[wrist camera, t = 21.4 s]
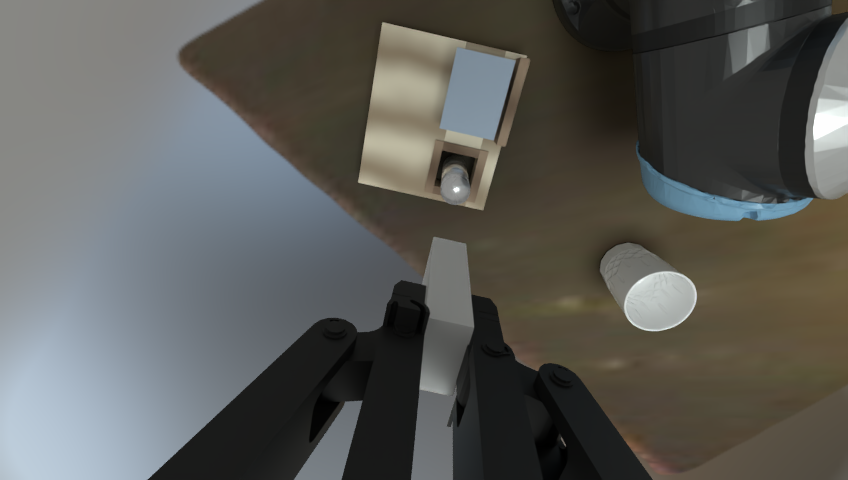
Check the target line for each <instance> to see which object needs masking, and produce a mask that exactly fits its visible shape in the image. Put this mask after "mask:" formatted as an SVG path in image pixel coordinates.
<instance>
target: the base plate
mask: <svg viewBox="0 0 848 480" xmlns="http://www.w3.org/2000/svg"><path fill="white" fill-rule="evenodd" d="M457 47H459V48H463V49H467V50H472V51H476V52H480V53H485V54H489V55H493V56H498V57H502V58H506V59H511V60H515V65H514V69H513V72H512V76H511V80H510V83H509V87H508V90H507V94H506V98H505V101H504V105H503V109H502V112H501V116H500V120H499V123H498V127H497V131H496V134H495V138H494V140H489V139H485V138H480V137H476V136H472V135H467V134H463V133H458V132H454V131H450V130H445V129H441V128H439V127H440V123H441V118H442V114H443V109H444V105H445V100H446V96H447V91H448V87H449V82H450V77H451V73H452V68H453V64H454V59H455V55H456V50H457ZM526 57H527V56H526V55H521V54H517V53H513V52H509V51H504V50H500V49H496V48H491V47H487V46H483V45H478V44H474V43H470V42H466V41H461V40H457V39H453V38H448V37H444V36H440V35H435V34H431V33H427V32H422V31H418V30H414V29H410V28H405V27H401V26H397V25H392V24H388V23H384V22H382V28H381V35H380V42H379V48H378V55H377V61H376V68H375V75H374V81H373V88H372V94H371V101H370V108H369V114H368V121H367V128H366V134H365V141H364V147H363V154H362V161H361V167H360V174H359V180H358V183H363V184H367V185H372V186H376V187H381V188H385V189H390V190H394V191H399V192H403V193H408V194H412V195H417V196H421V197H426V198H430V199H435V200H439V201H444V202H446V201H445V200H444V199H443V198H442V196H441V181H440V180H436V175H437V170H438V166H439V162H440V157H441V153H442V150H443V151H447V152H452V153H456V154H461V155H465V156H470V157H474V158H475V161H474V165H473V169H472V173H471V176H470V180H469V184H470V195H469V197H468V199H467V200H466V201H465V202H464V203H462V204H459V205H462V206H466V207H471V208H475V209H479V210H483V209H484V205H485V202H486V198H487V195H488V191H489V188H490V184H491V181H492V177H493V173H494V170H495V166H496V163H497V159H498V156H499V152H500V149H501V146H504V147H506V143H507V140H508V136H509V133H510V129H511V126H512V122H513V119H514V115H515V112H516V109H517V105H518V102H519V98H520V95H521V91H522V88H523V84H524V81H525V77H526V74H527V70H528V67H529V63H530V60H531V59H527V58H526Z"/></svg>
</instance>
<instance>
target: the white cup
mask: <svg viewBox="0 0 848 480" xmlns="http://www.w3.org/2000/svg"><path fill="white" fill-rule="evenodd" d="M600 273H601V275H602V277H603V280H604V281H605V283H606V285H607V287H608V289H609V290H610V292H611V293H612V295H613V297H614V299H615V300H616V302H617V303H618V305H619V306H620V308H621V309H622V311H623V312H624V314H625V315H626V317H627V318H628V320H629V321H630V322H631V323H632V324H633V325H634V326H636V327H638V328H640V329H643V330H647V331H661V330H666V329H669V328H672V327H674V326H676V325H678V324H679V323H681V322H682V321H684V320H685V319H686V318H687V317H688V316H689V315H690V313H691V312H692V310H693V309H694V306H695V304H696V299H697V293H696V289H695V286H694V284H693V283H692V281H691V280H690V279H689V278H687V277H686V276H685V275H683V274H682V273H680V272H679V271H678V270H676V269H675V268H674V267H672V266H671V265H669V264H668V263H667V262H665V261H664V260H662V259H661V258H660V257H658V256H656V255H655V254H654V253H651V252H649V251H648V250H646V249H645V248H643V247H642V246H641V245H639V244H634V243H624V244H620V245H616V246H615V247H613V248H612V249H610V250H609V251H607V252H606V254H605V255H604V257H603V258H602V260H601V264H600Z"/></svg>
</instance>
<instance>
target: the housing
mask: <svg viewBox="0 0 848 480" xmlns="http://www.w3.org/2000/svg"><path fill="white" fill-rule="evenodd" d="M514 65H515V60H511V59H506V58H502V57H498V56H493V55H489V54H485V53H480V52H476V51H472V50H467V49H463V48H459V47H457V50H456V55H455V59H454V64H453V68H452V73H451V77H450V82H449V87H448V91H447V96H446V100H445V105H444V109H443V114H442V118H441V123H440V127H439V128H441V129H445V130H450V131H454V132H458V133H463V134H467V135H472V136H476V137H480V138H485V139H489V140H494V138H495V134H496V131H497V127H498V123H499V120H500V116H501V112H502V109H503V105H504V101H505V98H506V94H507V90H508V87H509V83H510V80H511V76H512V72H513V69H514Z"/></svg>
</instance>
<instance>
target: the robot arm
mask: <svg viewBox="0 0 848 480" xmlns="http://www.w3.org/2000/svg"><path fill="white" fill-rule="evenodd" d="M553 2H554V6H555V10H556V12H557V15H558V17H559V19H560V21H561V23H562V24H563V26H564V27H565V29H566V30H567V31H568V32H569V33H570V34H571V35H572V36H573V37H574V38H575V39H576V40H578V41H579V42H580V43H582V44H584V45H586V46H588V47H590V48H593V49H597V50H601V51H622V50H627V49H632V48H633V67H634V82H635V97H636V111H637V126H638V141H637V143H636V153H637V155H638V158H639V160H640V166H641V174H642V181H643V184H644V186H645V188H646V190H647V192H648V193H649V194H650V195H651V197H652V198H654V199H655V200H656V201H658V202H659V203H661V204H662V205H664V206H666V207H668V208H670V209H673V210H675V211H678V212H681V213H685V214H689V215H693V216H697V217H702V218H708V219H715V220H727V221H739V220H741V219H742V218H743V217H746V218H751V219H754V220H757V221H758V220H768V219H775V218H780V217H784V216H787V215H791V214H794V213H796V212H798V211H799V210H801V209H803V208H804V207H806V206H807V205H808V204H809V203H810V201H811V200H812V199H813V198H819V199H836V198H839V197H841V196H843V195H844V194H846V193H848V12H845V13H841V14H836V15H831V4H832V0H553ZM499 322H500V321H499V316H498V311H497V307H496V306H495V304H494V303H493V302H492V301H491V299H489V298H485V297H480V296H475V295H471V289H470V279H469V269H468V259H467V249H466V244H464V243H460V242H455V241H451V240H446V239H442V238H437V237H433V242H432V246H431V250H430V254H429V258H428V262H427V266H426V271H425V275H424V279H423V283H422V285H421V284H416V283H412V282H407V281H402V280H401V281H400V282H398V283H397V284H396V285H395V286H394V289H393V293H392V297H391V300H390V301H389V302H388V304H387V308H386V313H385V317H384V322H383V326H381V327H380V328H379V329H377V330H375V331H371V332H357V329H356V328H355V326H354V325H353V324H352V323H350V322H348V321H346V320H343V319H339V318H327V319H323V320H320V321H318V322H317V323H315V324H314V325H313V326H312V327H311V328H309V329H308V330H307V331H306V332H305V333H304V334H303V335H302V336H301V337H300V338H299V339H298V340H297V341H296V342H294V343H293V344H292V345H291V346H290V347H289V348H288V349H287V350H286V351H285V352H284V353H283V354H282V355H281V356H279V358H277V359H276V360H275V361H274V362H273V363H272V364H271V365H270V366H269V367H268V368H267V369H266V370H265V371H263V372H262V373H261V374H260V375H259V376H258V377H257V378H256V379H255V380H254V381H253V382H252V383H251V384H250V385H249V386H247V387H246V388H245V389H244V390H243V391H242V392H241V393H240V394H239V395H238V396H237V397H236V398H235V399H234V400H233V401H231V402H230V403H229V404H228V405H227V406H226V407H225V408H224V409H223V410H222V411H221V412H220V413H219V414H217V415H216V416H215V417H214V418H213V419H212V420H211V421H210V422H209V423H208V424H207V425H206V426H205V427H204V428H203V429H201V430H200V431H199V432H198V433H197V434H196V435H195V436H194V437H193V438H192V439H191V440H190V441H189V442H188V443H186V444H185V445H184V446H183V447H182V448H181V449H180V450H179V451H178V452H177V453H176V454H175V455H174V456H173V457H172V458H170V460H168V461H167V462H166V463H165V464H164V465H163V466H162V467H161V468H160V469H159V470H158V471H157V472H155V473H154V474H153V475H152V476H151V477H150V478H149V479H148V480H294V478H295V477H296V475H297V474H298V473H299V471H300V470H301V468H302V467H303V465H304V464H305V462H306V461H307V459H308V458H309V456H310V455H311V453H312V452H313V451H314V449H315V448H316V446H317V445H318V443H319V442H320V440H321V439H322V437H323V436H324V434H325V433H326V431H327V430H328V428H329V427H330V426H331V424H332V422H333V421H334V420H335V418H336V417H337V415H338V414H339V412H340V411H341V409H342V408H343V406H344V403H345V401H361V400H363V402H362V406H361V409H360V413H359V417H358V420H357V425H356V428H355V432H354V435H353V439H352V443H351V447H350V450H349V454H348V458H347V461H346V465H345V469H344V473H343V476H342V480H411V473H412V462H413V451H414V441H415V430H416V420H417V408H418V398H419V389H421V390H425V391H431V392H435V393H440V394H444V395H449V396H453V394H454V390H455V387H456V384H457V396H456V399H455V402H454V405H453V408H452V411H451V415H450V418H449V421H448V424H447V426H448V427H451V424H452V421H453V480H652V478H651V477H650V476H649V474H648V473H647V471H646V470H645V468H644V467H643V466H642V464H641V463H640V461H639V460H638V459H637V457H636V456H635V454H634V453H633V452H632V450H631V449H630V447H629V446H628V445H627V443H626V442H625V441H624V439H623V438H622V436H621V435H620V434H619V432H618V431H617V429H616V428H615V427H614V425H613V424H612V423H611V421H610V420H609V418H608V417H607V416H606V414H605V413H604V411H603V410H602V409H601V407H600V406H599V404H598V403H597V402H596V400H595V399H594V398H593V396H592V395H591V393H590V392H589V391H588V389H587V388H586V386H585V385H584V384H583V382H582V381H581V379H580V378H579V377H578V376H577V375H576V374H575V373H573V372H572V371H570V370H569V369H568V368H566V367H563V366H561V365H558V364H552V363H548V364H544V365H542V366H541V367H540V368H539V371H535V370H533V369H531V368H529V367H526V366H524V365H522V364H520V363H519V362H517V361H516V360H515V356H514V353H513V351H512V349H511V348H510V347H509V346H508V345H507V344H506V343H504V340H503V335H502V331H501V326H500V323H499ZM561 437H562V438H563V440H564V442H565V444H566V447H565V446H564V444H563V442H562V441H561Z"/></svg>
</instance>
